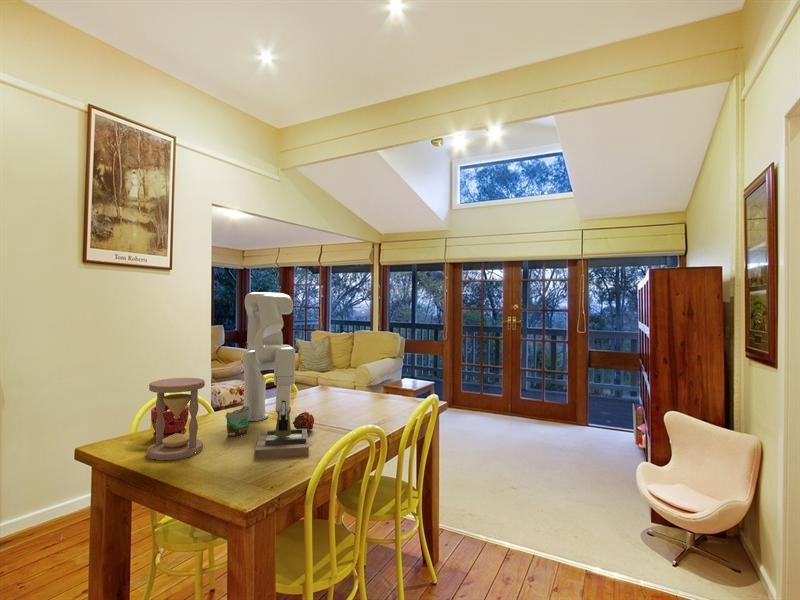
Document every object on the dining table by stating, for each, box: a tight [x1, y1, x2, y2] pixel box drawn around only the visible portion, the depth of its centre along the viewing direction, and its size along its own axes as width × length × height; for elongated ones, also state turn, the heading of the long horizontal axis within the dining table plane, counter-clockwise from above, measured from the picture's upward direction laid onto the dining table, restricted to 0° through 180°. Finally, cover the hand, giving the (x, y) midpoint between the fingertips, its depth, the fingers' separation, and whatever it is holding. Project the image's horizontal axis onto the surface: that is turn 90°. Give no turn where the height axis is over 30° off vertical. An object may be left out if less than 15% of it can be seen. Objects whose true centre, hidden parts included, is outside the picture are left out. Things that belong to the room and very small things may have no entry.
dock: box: [254, 428, 310, 460], centre depth 155 cm, size 22×18×4 cm
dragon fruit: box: [292, 411, 315, 431], centre depth 176 cm, size 8×8×12 cm
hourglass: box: [146, 377, 206, 461], centre depth 148 cm, size 18×18×25 cm
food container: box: [225, 405, 251, 438], centre depth 169 cm, size 12×6×10 cm, turn 168°
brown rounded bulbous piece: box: [274, 406, 292, 437], centre depth 155 cm, size 6×6×11 cm
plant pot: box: [150, 403, 190, 439], centre depth 165 cm, size 13×13×12 cm
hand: (283, 428), depth 155 cm, fingers closed on brown rounded bulbous piece, 4 cm apart
